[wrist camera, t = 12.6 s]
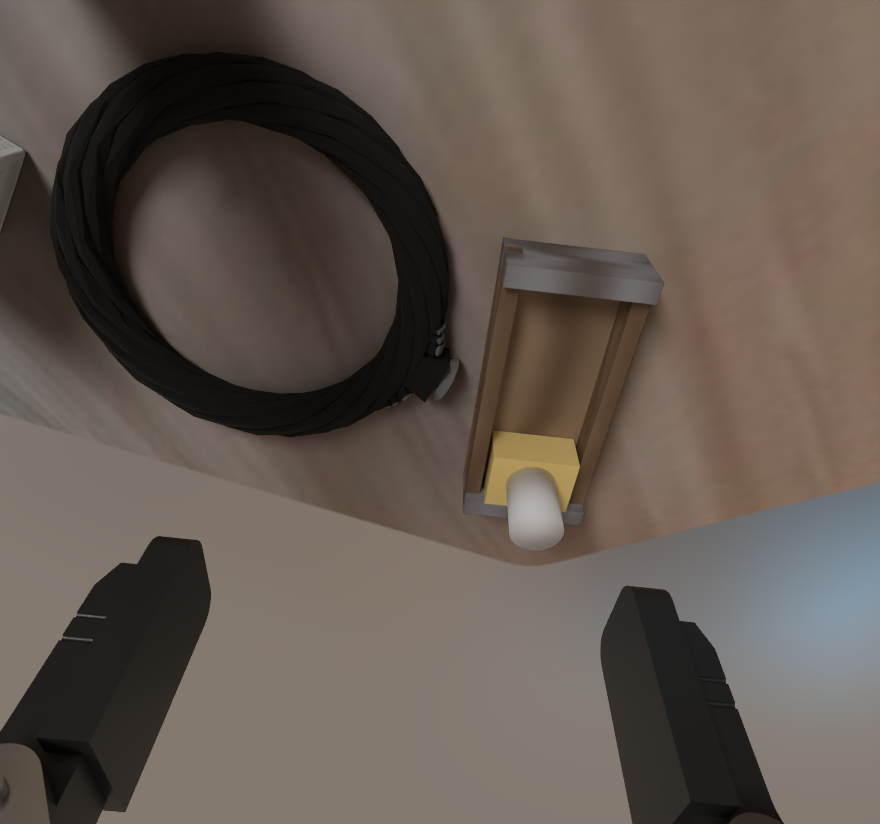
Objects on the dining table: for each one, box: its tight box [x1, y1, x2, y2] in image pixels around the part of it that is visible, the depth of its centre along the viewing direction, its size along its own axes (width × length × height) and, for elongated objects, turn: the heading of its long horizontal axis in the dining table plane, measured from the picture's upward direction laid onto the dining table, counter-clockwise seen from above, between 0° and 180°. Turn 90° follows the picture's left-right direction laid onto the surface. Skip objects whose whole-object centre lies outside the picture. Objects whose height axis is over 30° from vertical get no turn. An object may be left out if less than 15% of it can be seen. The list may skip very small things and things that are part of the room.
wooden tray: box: [463, 238, 664, 526], centre depth 45 cm, size 10×22×5 cm, turn 174°
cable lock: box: [51, 52, 459, 437], centre depth 42 cm, size 28×4×30 cm
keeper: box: [484, 430, 580, 550], centre depth 46 cm, size 7×5×8 cm
